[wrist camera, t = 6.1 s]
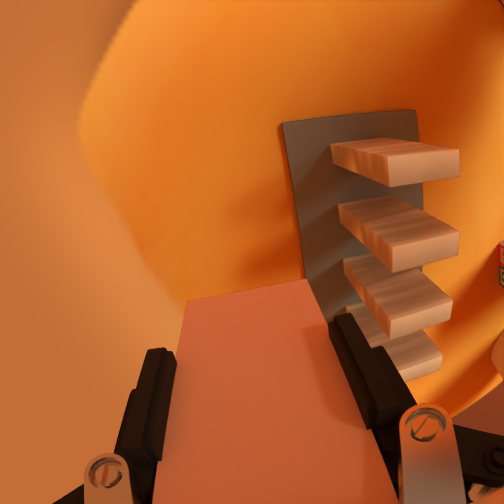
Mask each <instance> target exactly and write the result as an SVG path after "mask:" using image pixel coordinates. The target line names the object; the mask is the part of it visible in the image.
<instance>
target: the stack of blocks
mask: <svg viewBox="0 0 504 504" xmlns="http://www.w3.org/2000/svg"><path fill="white" fill-rule="evenodd" d="M498 246H499V284H500V285H501V286H502V287H503V288H504V240H503V241H501V242H500V243H499V244H498Z"/></svg>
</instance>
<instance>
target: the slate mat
mask: <svg viewBox="0 0 504 504" xmlns="http://www.w3.org/2000/svg"><path fill="white" fill-rule="evenodd" d="M281 125H282V130H283V136H284V141H285V147H286V152H287V158H288V164H289V170H290V176H291V182H292V188H293V195H294V201H295V207H296V214H297V221H298V227H299V234H300V241H301V248H302V256H303V263H304V271H305V278H306V279H307V281H308V283H309V285H310V287H311V290H312V292H313V294H314V296H315V298H316V301H317V303H318V305H319V307H320V310H321V312H322V314H323V316H324V319H325V321H326V323H327V325H328V322H331V321H333V317H334V316H337V315H341V314H345V313H346V305H350V304H354V303H358V302H362V301H363V300H362V299H361V297H360V296H359V295H358V293H357V292H356V290H355V289H354V288H353V286H352V285H351V283H350V282H349V281H348V279H347V278H346V277H345V275H344V269H343V258H347V257H352V256H356V255H361V254H365V253H370V252H371V251H370V250H369V249H368V248H367V247H366V246H365V245H364V244H363V243H361V242H360V241H359V240H358V239H357V238H356V237H355V236H354V235H353V234H352V233H351V232H350V231H349V230H348V229H347V228H345V227H344V226H343V225H342V224H341V223H340V222H339V212H338V204H339V203H345V202H350V201H356V200H362V199H367V198H373V197H379V196H385V195H392V196H394V197H396V198H398V199H400V200H402V201H404V202H406V203H408V204H410V205H412V206H414V207H416V208H418V209H420V210H422V211H423V190H422V182H421V183H415V184H408V185H402V186H395V187H388V186H386V185H383V184H381V183H379V182H376V181H374V180H372V179H369V178H367V177H365V176H362V175H360V174H357V173H355V172H353V171H350V170H348V169H345V168H343V167H340V166H338V165H335V164H333V163H332V156H331V149H330V144H334V143H341V142H349V141H358V140H366V139H375V138H392V139H399V140H406V141H413V142H419V135H418V126H417V118H416V110H405V111H387V112H372V113H360V114H349V115H339V116H330V117H322V118H314V119H306V120H299V121H292V122H286V123H281ZM416 268H417V269H418V270H420V271H421V272H422V265H420V266H417V267H416Z"/></svg>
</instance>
